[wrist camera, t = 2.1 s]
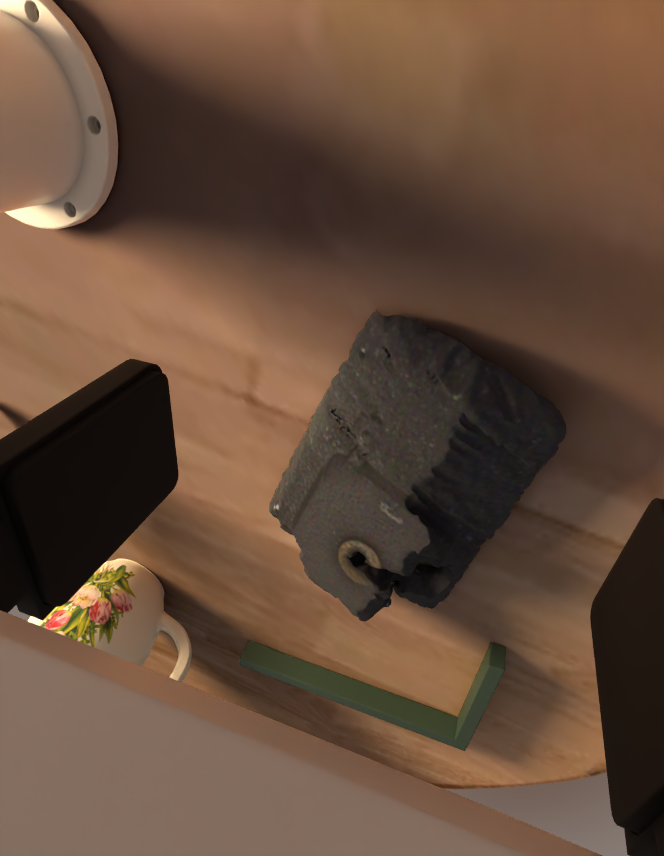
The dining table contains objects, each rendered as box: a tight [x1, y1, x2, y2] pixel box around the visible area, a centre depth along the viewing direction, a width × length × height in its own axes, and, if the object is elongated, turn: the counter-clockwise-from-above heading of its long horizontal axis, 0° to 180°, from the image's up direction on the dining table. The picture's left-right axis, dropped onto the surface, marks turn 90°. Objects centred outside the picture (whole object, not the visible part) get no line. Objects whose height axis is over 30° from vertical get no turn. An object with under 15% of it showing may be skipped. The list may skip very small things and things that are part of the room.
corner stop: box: [240, 641, 506, 751], centre depth 46 cm, size 23×13×2 cm, turn 85°
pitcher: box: [28, 559, 192, 683], centre depth 48 cm, size 11×18×14 cm, turn 83°
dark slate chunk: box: [269, 310, 566, 621], centre depth 33 cm, size 15×22×5 cm
